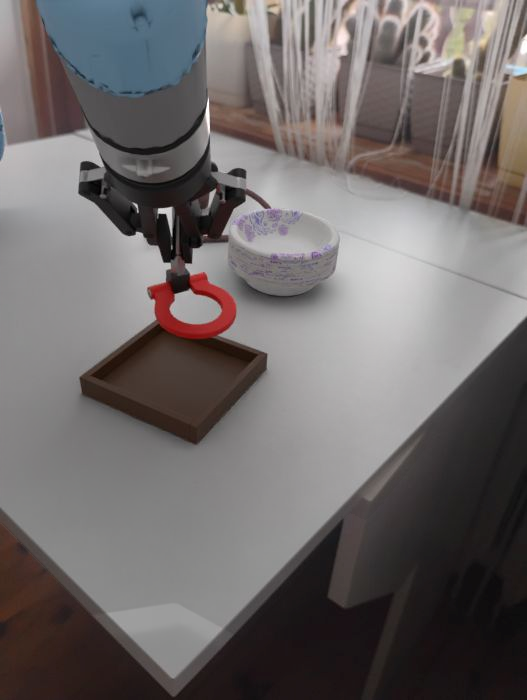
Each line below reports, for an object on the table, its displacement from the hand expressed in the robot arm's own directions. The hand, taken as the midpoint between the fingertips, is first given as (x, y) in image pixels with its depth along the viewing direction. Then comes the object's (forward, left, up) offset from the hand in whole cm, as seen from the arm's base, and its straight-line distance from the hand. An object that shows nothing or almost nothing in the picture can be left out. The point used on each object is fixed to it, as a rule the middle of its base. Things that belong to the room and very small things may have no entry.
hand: (178, 250), depth 65 cm
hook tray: (+2, -3, -14) cm, 15 cm away
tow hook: (+3, -2, -6) cm, 7 cm away
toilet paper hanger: (-18, +35, -14) cm, 42 cm away
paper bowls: (+1, +24, -14) cm, 28 cm away
